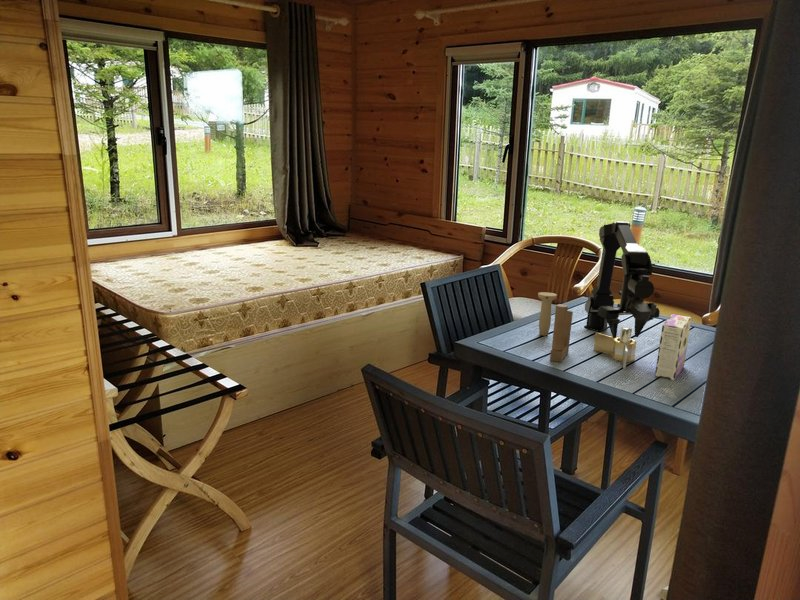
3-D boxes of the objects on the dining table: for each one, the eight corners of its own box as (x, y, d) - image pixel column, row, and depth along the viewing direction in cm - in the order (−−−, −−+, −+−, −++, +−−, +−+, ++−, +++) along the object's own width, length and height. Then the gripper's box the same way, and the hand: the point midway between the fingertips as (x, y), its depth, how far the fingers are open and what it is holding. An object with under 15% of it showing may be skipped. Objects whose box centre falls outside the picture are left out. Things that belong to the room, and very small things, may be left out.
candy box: (664, 362, 191) (671, 313, 187) (684, 367, 188) (692, 316, 183) (654, 376, 180) (661, 323, 176) (675, 380, 177) (683, 327, 172)
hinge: (579, 355, 195) (581, 338, 194) (598, 347, 203) (600, 330, 202) (624, 369, 184) (627, 351, 183) (643, 360, 192) (645, 342, 191)
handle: (534, 331, 218) (538, 291, 214) (553, 333, 217) (557, 293, 213) (534, 335, 214) (537, 294, 210) (552, 337, 212) (556, 296, 208)
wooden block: (568, 352, 198) (574, 299, 193) (561, 363, 189) (566, 307, 184) (557, 350, 199) (562, 298, 195) (549, 360, 190) (554, 306, 185)
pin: (615, 357, 194) (619, 328, 191) (620, 355, 196) (624, 326, 194) (624, 360, 192) (628, 330, 189) (629, 358, 194) (633, 328, 191)
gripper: (619, 298, 178) (613, 347, 183) (674, 295, 183) (667, 344, 187) (599, 288, 189) (593, 335, 193) (651, 286, 193) (645, 333, 197)
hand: (625, 337), depth 192 cm, fingers open, 8 cm apart
